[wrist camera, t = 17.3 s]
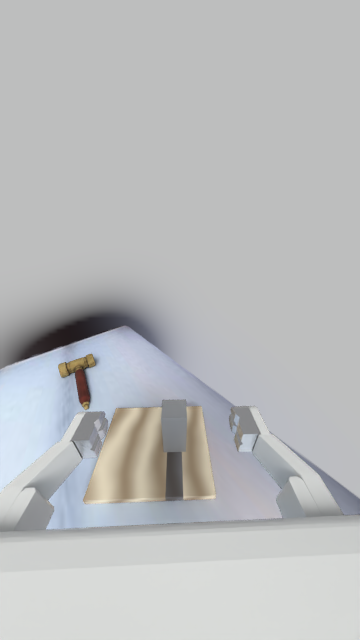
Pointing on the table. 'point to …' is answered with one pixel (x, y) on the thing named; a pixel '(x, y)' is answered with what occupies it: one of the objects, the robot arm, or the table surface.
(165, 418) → the tall grey pillar
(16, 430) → the table surface
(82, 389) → the gavel
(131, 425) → the board
